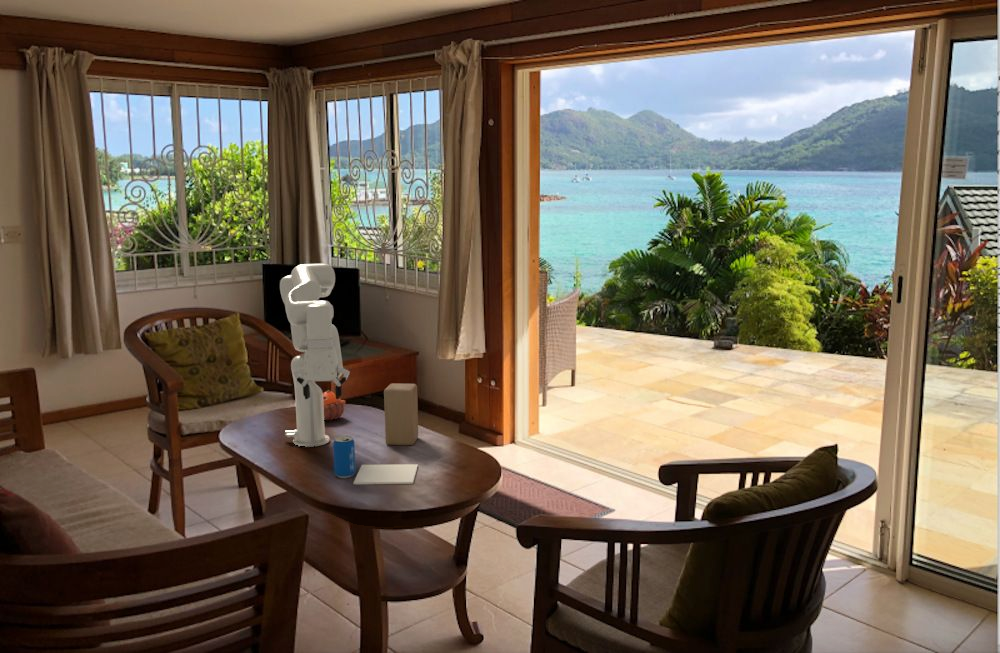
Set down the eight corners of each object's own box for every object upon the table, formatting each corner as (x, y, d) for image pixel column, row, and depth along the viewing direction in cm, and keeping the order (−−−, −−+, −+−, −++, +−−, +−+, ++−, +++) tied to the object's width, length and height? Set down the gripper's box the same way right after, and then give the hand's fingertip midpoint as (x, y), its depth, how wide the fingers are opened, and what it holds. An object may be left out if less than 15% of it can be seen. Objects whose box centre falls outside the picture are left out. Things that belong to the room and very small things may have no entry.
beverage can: (345, 480, 256) (344, 442, 254) (330, 476, 260) (328, 439, 258) (359, 474, 262) (358, 437, 260) (344, 470, 265) (342, 434, 263)
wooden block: (418, 437, 299) (417, 383, 295) (413, 446, 289) (411, 390, 285) (391, 436, 300) (389, 382, 296) (385, 445, 290) (383, 389, 286)
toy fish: (335, 413, 330) (333, 385, 328) (351, 419, 323) (349, 390, 321) (309, 420, 321) (307, 391, 319) (324, 425, 314) (323, 396, 312)
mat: (353, 484, 253) (353, 482, 253) (362, 466, 269) (361, 464, 269) (412, 483, 253) (412, 482, 253) (417, 466, 269) (417, 464, 269)
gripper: (288, 346, 253) (291, 401, 256) (345, 345, 253) (347, 400, 255) (295, 342, 261) (298, 395, 263) (350, 341, 260) (353, 395, 262)
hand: (322, 398), depth 259 cm, fingers open, 9 cm apart
